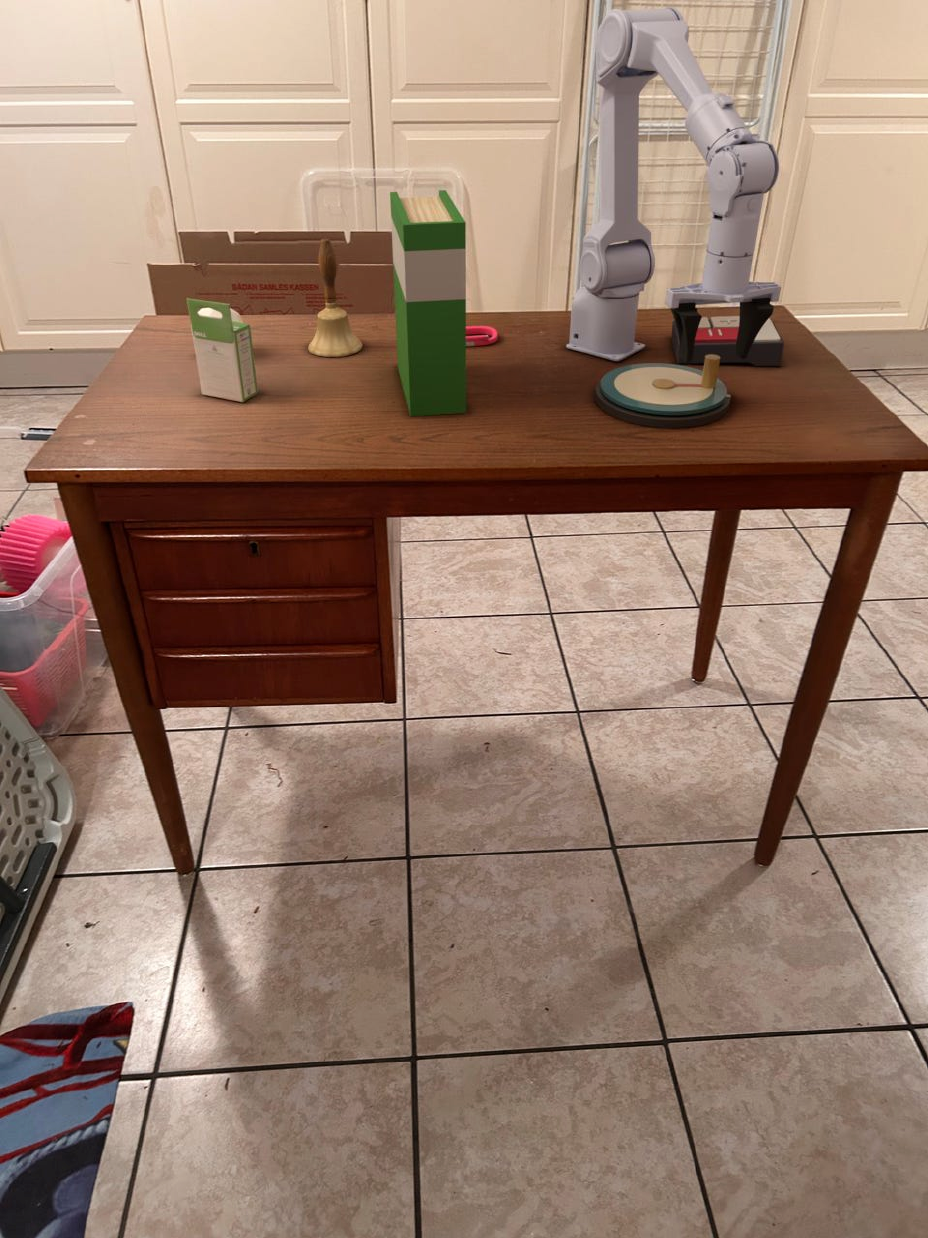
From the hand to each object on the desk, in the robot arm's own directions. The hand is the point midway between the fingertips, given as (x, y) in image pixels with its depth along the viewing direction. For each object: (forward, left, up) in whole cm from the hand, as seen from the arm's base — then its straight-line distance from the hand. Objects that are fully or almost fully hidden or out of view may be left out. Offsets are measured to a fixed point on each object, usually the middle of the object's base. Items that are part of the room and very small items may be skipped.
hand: (713, 358), depth 126 cm
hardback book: (-32, -20, -6) cm, 38 cm away
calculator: (-7, +19, -6) cm, 21 cm away
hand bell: (-54, -17, -6) cm, 57 cm away
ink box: (-52, -39, -6) cm, 65 cm away
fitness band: (-40, -1, -6) cm, 41 cm away
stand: (-5, -3, -6) cm, 9 cm away
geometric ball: (-65, -30, -6) cm, 72 cm away
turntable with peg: (-5, -3, -5) cm, 8 cm away
